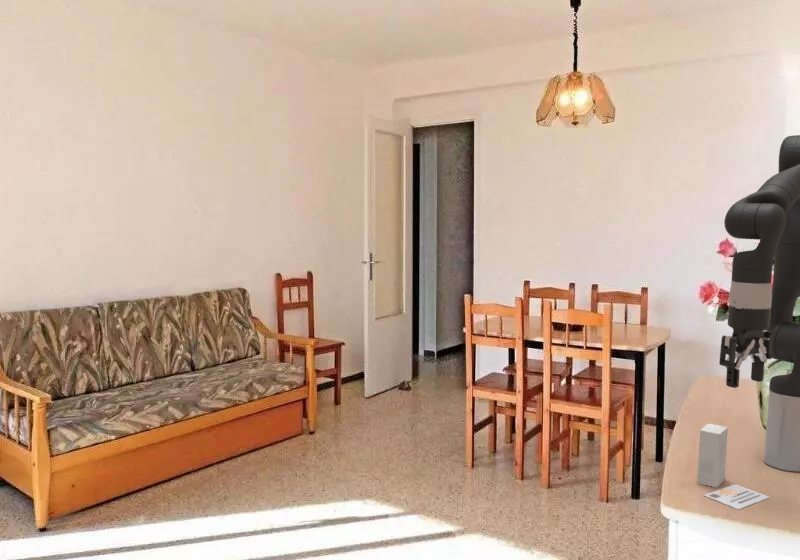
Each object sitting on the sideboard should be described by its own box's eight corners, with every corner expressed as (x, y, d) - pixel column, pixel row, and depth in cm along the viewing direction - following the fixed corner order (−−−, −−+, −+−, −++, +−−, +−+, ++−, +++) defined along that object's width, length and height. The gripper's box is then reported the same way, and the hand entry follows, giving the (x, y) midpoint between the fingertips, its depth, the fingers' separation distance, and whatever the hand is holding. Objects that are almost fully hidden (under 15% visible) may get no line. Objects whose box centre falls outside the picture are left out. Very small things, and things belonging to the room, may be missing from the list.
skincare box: (704, 475, 151) (707, 422, 150) (724, 480, 149) (728, 426, 147) (696, 483, 147) (699, 429, 145) (717, 488, 144) (720, 434, 143)
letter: (735, 484, 146) (735, 484, 146) (769, 497, 140) (769, 496, 140) (703, 496, 140) (703, 495, 140) (738, 510, 134) (738, 509, 134)
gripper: (752, 299, 142) (747, 375, 144) (710, 304, 135) (706, 384, 137) (788, 304, 136) (782, 383, 138) (747, 310, 129) (741, 393, 131)
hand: (744, 383), depth 137 cm, fingers open, 8 cm apart
